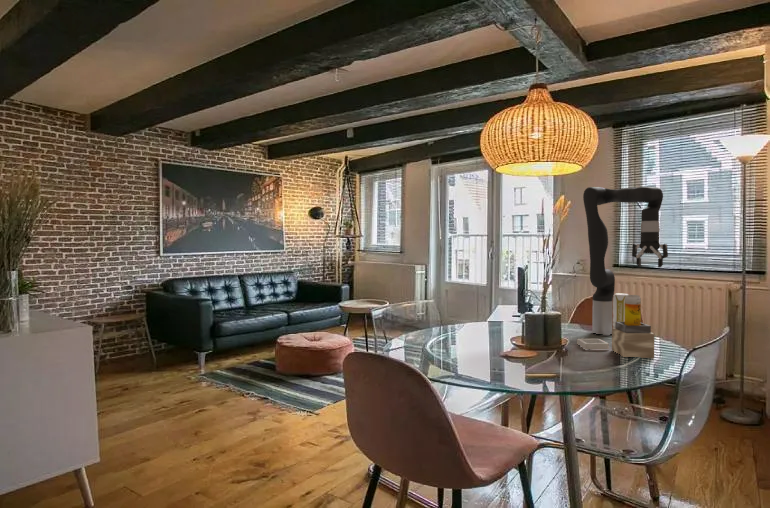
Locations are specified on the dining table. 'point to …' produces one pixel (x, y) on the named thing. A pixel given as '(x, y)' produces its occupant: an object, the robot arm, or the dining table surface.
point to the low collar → (593, 343)
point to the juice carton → (618, 308)
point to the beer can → (632, 310)
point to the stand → (633, 340)
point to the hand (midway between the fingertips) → (649, 266)
